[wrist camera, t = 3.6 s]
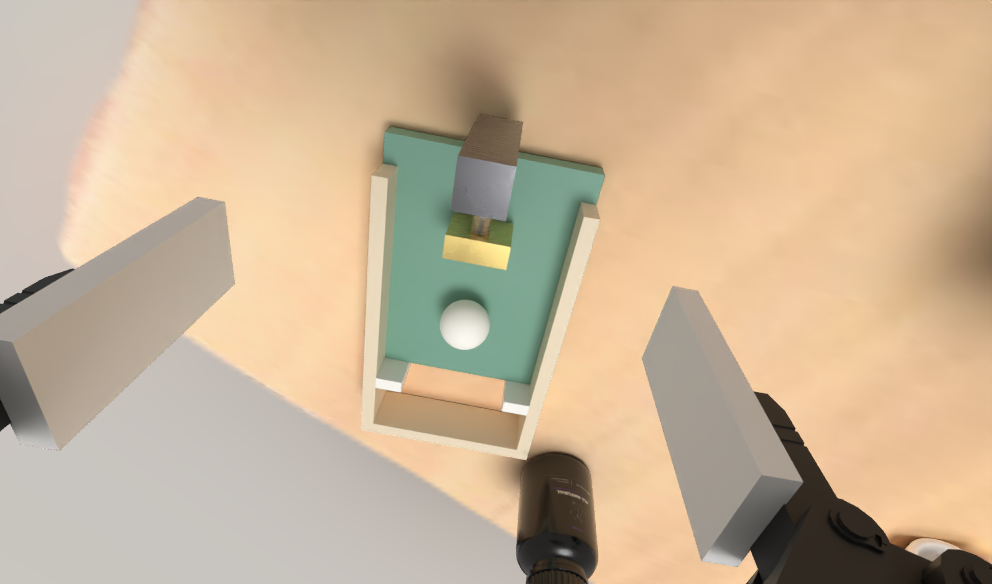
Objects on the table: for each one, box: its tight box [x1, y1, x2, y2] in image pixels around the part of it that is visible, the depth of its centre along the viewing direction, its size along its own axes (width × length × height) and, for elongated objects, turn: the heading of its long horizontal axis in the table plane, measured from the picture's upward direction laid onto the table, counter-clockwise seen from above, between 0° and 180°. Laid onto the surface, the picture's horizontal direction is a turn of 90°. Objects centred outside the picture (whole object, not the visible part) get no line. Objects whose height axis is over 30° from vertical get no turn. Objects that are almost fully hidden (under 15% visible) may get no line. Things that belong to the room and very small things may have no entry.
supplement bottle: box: [516, 454, 598, 584], centre depth 43 cm, size 7×7×12 cm
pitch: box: [361, 127, 605, 460], centre depth 36 cm, size 24×14×4 cm, turn 170°
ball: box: [440, 300, 490, 350], centre depth 35 cm, size 4×4×4 cm
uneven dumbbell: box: [442, 114, 523, 270], centre depth 27 cm, size 8×4×9 cm, turn 170°
